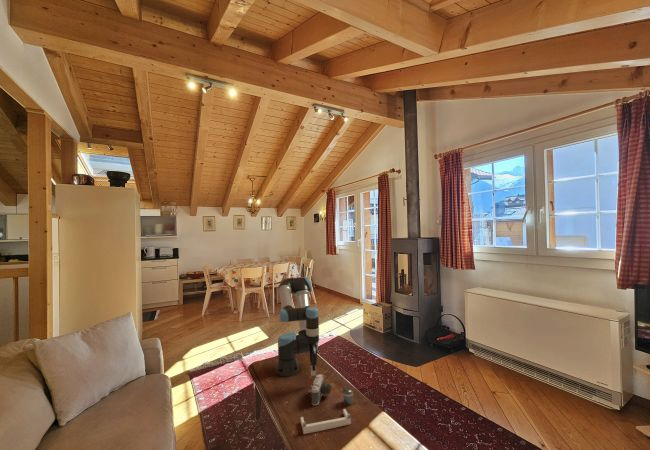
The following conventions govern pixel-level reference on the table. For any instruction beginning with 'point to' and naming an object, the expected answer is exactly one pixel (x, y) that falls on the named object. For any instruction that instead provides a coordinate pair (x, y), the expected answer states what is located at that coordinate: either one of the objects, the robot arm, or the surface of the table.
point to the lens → (347, 396)
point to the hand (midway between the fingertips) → (313, 375)
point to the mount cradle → (326, 424)
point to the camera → (319, 389)
